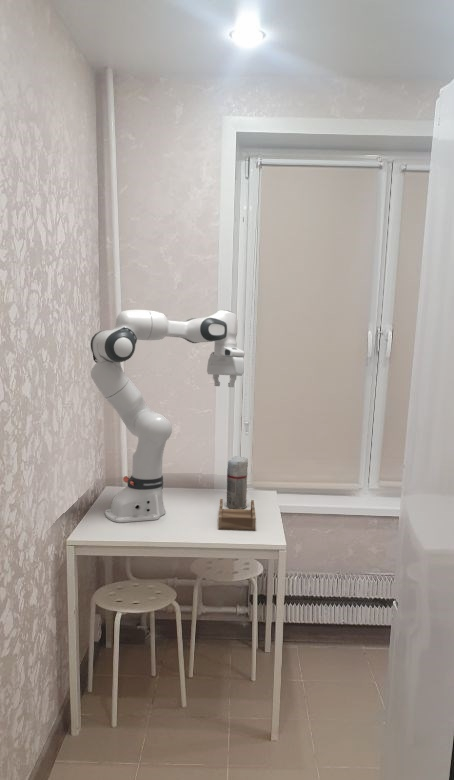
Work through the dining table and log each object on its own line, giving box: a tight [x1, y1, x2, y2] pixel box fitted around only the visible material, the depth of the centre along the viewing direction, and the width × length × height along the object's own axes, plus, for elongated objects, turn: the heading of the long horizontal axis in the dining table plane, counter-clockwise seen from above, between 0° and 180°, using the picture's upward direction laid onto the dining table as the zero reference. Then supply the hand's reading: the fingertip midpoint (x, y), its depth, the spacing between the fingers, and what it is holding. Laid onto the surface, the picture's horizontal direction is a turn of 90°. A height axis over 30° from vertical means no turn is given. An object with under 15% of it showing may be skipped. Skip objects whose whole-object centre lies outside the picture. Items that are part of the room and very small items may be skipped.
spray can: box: [226, 455, 249, 509], centre depth 238 cm, size 8×8×20 cm
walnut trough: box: [217, 498, 257, 532], centre depth 223 cm, size 22×13×4 cm, turn 179°
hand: (223, 386), depth 239 cm, fingers open, 8 cm apart
